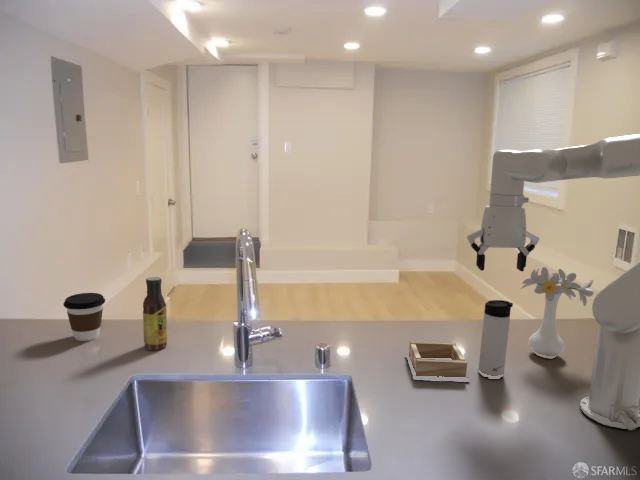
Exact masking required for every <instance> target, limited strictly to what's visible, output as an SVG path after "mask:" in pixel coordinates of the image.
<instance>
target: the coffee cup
mask: <svg viewBox="0 0 640 480" xmlns="http://www.w3.org/2000/svg"><path fill="white" fill-rule="evenodd" d="M105 302H106V298H105V297H104V296H103V295H102V293H101V294H100V293H98V292H81V293H76V294H73V295H70V296H68V297H66V298H65V299H64V302H63V306H64V308H65V309H66V313H67V317H68V320H69V325H70V326H69V327H70V329H71V330H72V335H73V337H74V338H75V340H76V341H78V342H89V341H92V340H95V339H97V338H99V335H100V332H101V326H102V319H103V311H104V310H103V309H104V307H103V305H104V304H105Z"/></svg>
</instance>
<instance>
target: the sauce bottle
mask: <svg viewBox="0 0 640 480" xmlns="http://www.w3.org/2000/svg"><path fill="white" fill-rule="evenodd" d="M145 282H146V283H145V284H146V297H145V298H144V299H143V303H142V308H143V311H142V321H143V323H142V325H143V343H144V348H145V349H146V350H149V351H159V350H162V349H164V348H166V347H167V344H168V343H167V342H168V328H167V327H168V323H167V321H168V317H167V315H168V314H167V303H166V302H165V299H164V295H163V294H162V278H161V277H159V276H152V277H151V276H150V277H147V278H146V279H145Z"/></svg>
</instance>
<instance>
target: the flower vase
mask: <svg viewBox="0 0 640 480" xmlns="http://www.w3.org/2000/svg"><path fill="white" fill-rule="evenodd" d="M539 270H540V268H537V270H536V269H535V268H534V269H533V270H532V271H531V273H530V278H526V279H524V280H523V281H522V283H521V284H523V286H521V288H520V290H521V289H524V288H527V287H529V286H533V285H536V286H535V289H534V293H535V294H544V297H545V298H544V300H545V303H544V304H545V305H544V311H543V317H542V322H541V325H540V327H539V328H538V330H537V331H535V332H534V333H532V334H531V335H530V337H529V338H528V346H529V347H530V348H531V350H532V351H535V352H537V353H539V354H542V355H546V356H555V355H557V356H558V355H560V354H561V353H562V352H563V351H564V350H565V343H564V341H563V339H562V337H561V336H560V335H559V334H558V333H559V332H558V330H557V326H556V321H557V320H556V317H557V308H558V302H559V299H560V296H561V295H562V294H565V295H566V296H567V297H568V298H569V299H570V300H571V301H573V298H576V297H577V296H576V293H575V292H574V290H575V291H578V295H579V301H580V302H581V301H582V304H583V307H585V306H587V303H588V302H587V301H588V300H587V297H593V295H594V290H593V289H592V288H591V286H592V285H593V284H594V279H592V280H590V281H589V282H587V283H586V282H585V283H584V284H583V285H582V286H581V285H580V284H579V283H576V282H574V281H575V280H576V279H577V274H576V273H575V272H571V273H569V274H567V276H566V273H565V271H564V270H563V269H562V268H559V269H558V272H553V273H551V274H550V273H549V270H548V268H547V267H545V266H544V267H542V268H541V270H540V274H539ZM558 284H559V285H558Z"/></svg>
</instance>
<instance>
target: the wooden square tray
mask: <svg viewBox="0 0 640 480" xmlns="http://www.w3.org/2000/svg"><path fill="white" fill-rule="evenodd" d="M408 348H409V349H408V354H409V357H410V360H411V362H412V365H413V368H414V370H415V372H416V376H437V377H439V376H442V377H443V376H444V377H466V374H467V369H468V361H467V360H466V358H465V357H464V354H463V353H462V351H461V349H459V347H458V345H457V344H456V342H445V341H444V342H440V341H439V342H438V341H415V340H414V341H412V340H411V341H409V347H408ZM421 358H451V359H452V360H435V359H421Z"/></svg>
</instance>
